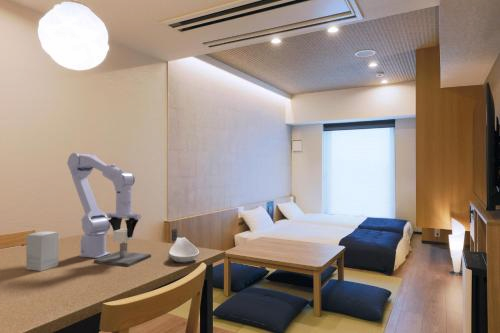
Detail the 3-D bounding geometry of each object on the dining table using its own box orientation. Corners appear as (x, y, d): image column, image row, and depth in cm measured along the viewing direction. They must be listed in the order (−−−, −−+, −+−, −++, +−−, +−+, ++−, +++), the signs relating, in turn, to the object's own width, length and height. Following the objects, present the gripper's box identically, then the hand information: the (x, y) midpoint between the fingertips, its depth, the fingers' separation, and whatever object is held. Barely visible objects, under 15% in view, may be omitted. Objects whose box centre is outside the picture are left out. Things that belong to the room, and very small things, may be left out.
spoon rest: (201, 263, 127) (201, 245, 127) (170, 266, 123) (170, 247, 123) (191, 249, 149) (191, 233, 149) (165, 251, 145) (165, 235, 145)
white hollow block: (113, 241, 130) (113, 231, 130) (122, 238, 135) (122, 228, 135) (124, 242, 128) (124, 231, 128) (133, 239, 133) (133, 229, 133)
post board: (94, 262, 127) (94, 245, 127) (118, 253, 141) (118, 238, 141) (129, 266, 123) (129, 248, 123) (151, 256, 136) (151, 240, 136)
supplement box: (59, 265, 123) (59, 231, 123) (40, 271, 116) (40, 235, 116) (44, 263, 125) (44, 230, 126) (25, 269, 118) (25, 234, 119)
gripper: (101, 202, 130) (101, 237, 130) (132, 204, 126) (132, 239, 126) (114, 201, 137) (113, 234, 137) (144, 202, 133) (143, 236, 132)
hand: (123, 236), depth 132 cm, fingers closed on white hollow block, 5 cm apart
